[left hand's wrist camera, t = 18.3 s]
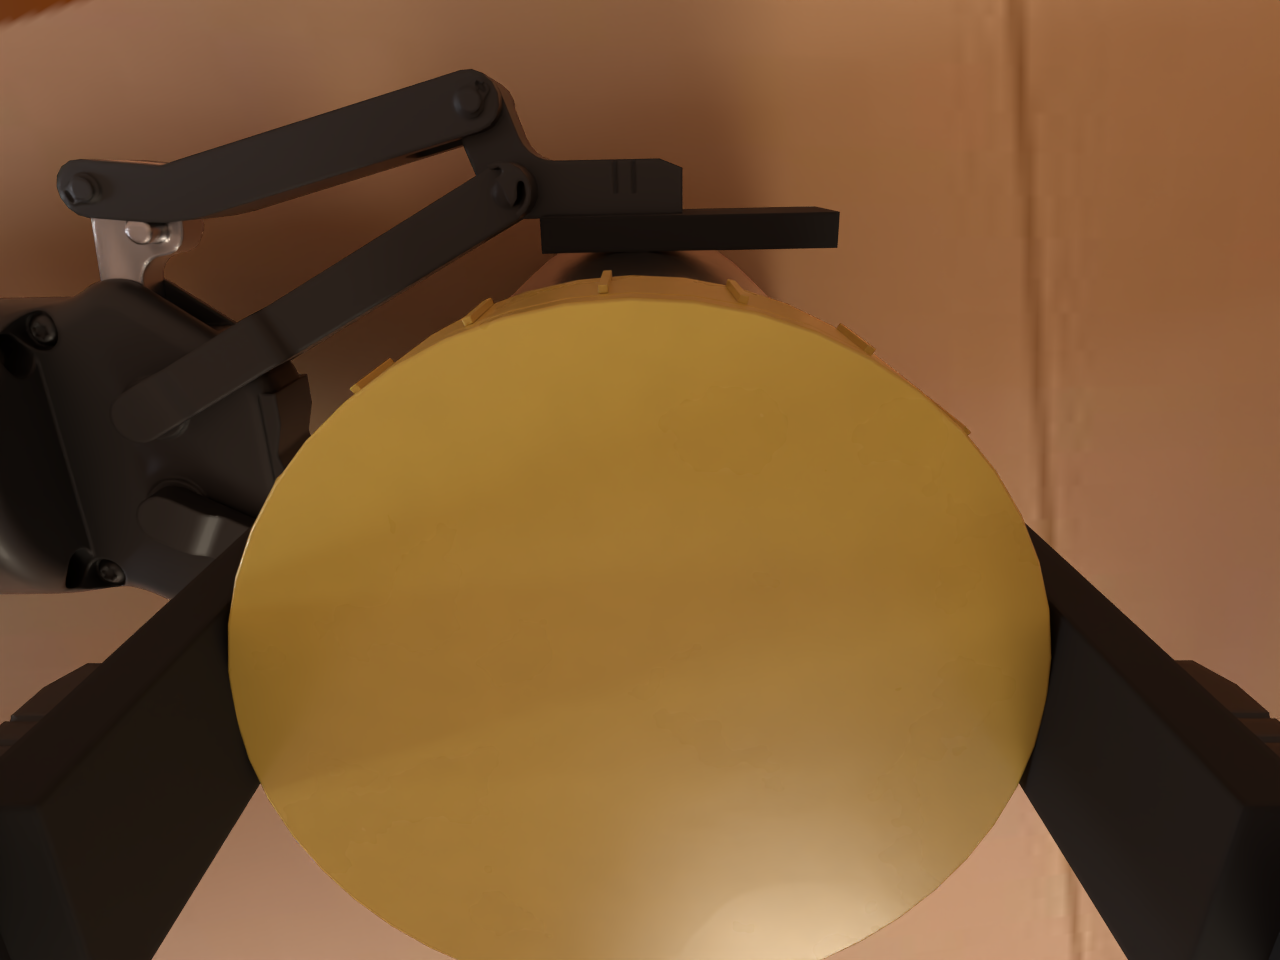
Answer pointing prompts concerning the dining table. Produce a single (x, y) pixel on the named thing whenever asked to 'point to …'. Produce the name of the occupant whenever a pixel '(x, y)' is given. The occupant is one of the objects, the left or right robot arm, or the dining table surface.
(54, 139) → the dining table surface
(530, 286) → the jar
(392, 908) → the lid
